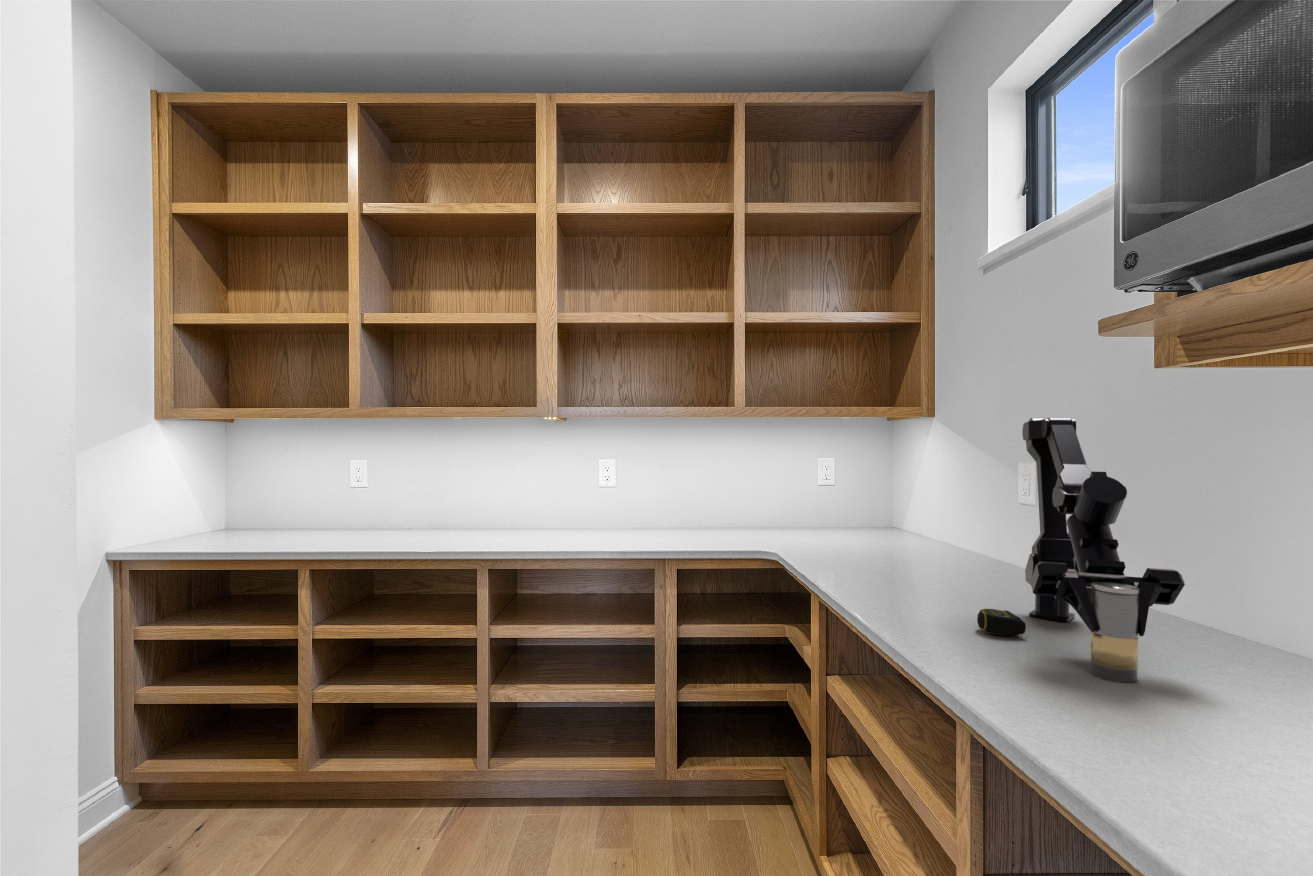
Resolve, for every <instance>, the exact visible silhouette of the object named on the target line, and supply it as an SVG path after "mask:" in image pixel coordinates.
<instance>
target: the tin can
mask: <svg viewBox="0 0 1313 876" xmlns="http://www.w3.org/2000/svg"><path fill="white" fill-rule="evenodd" d="M1091 588H1092V602H1091V606H1092V610H1093V613H1094V617H1095V624H1096V630H1095V632H1091V631H1090V652H1089V654H1090V657H1089V658H1090V673H1091V675H1093V676H1094V677H1097V678H1098V679H1099V678H1100V679H1103V680H1106V681H1109V682H1115V683H1122V684H1123V683H1126V684H1131V683H1136V682H1138V674H1139V673H1138V670H1139V669H1138V668H1139V634H1138V600H1139V590H1140V589H1139V588H1137V587H1135V586H1131V585H1126V584H1120V583H1111V582H1093V583H1091Z"/></svg>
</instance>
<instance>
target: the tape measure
mask: <svg viewBox="0 0 1313 876" xmlns="http://www.w3.org/2000/svg"><path fill="white" fill-rule="evenodd" d="M976 619H977V620H976V621H977V622H976V623H977V625H978V628H980V629H981V630H982V631H985V632H987V633H989V634H991V635H998V636H1017V635H1019V636H1020V635H1023V634H1025V633H1026V631H1027V630H1026V629H1027V626H1026V622H1025V621H1024V620H1023V619H1022V618H1020V617H1019V616H1017V615H1016V614H1015V613H1012V612H1011V611H1010V610H1002V609H995V608H982V609H980V610H979V612H978V613H977V618H976Z"/></svg>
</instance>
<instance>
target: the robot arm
mask: <svg viewBox="0 0 1313 876" xmlns="http://www.w3.org/2000/svg"><path fill="white" fill-rule="evenodd" d="M1021 433H1022V439H1023V441H1025V446H1026V451H1027V453H1029V456H1031V458H1032V459H1033V460H1034V461H1035V462H1036V481H1037V500H1038V501H1037V502H1038V517H1039V518H1038V520H1039V535H1038V537H1037V538H1036V540H1035V541H1034V543H1033V544H1032V546H1031V553H1030V554H1029V556H1028V560H1027V563H1026V566H1025V570H1024V572H1025V573H1024V577H1025V581H1026V583H1028V584H1029V585H1030V586H1031V590H1032V594H1034V597H1035V598H1034V609H1033V610H1032V611H1030V612H1029V613H1028V616H1031V617H1035V618H1041V619H1047V620H1052V621H1057V622H1063V623H1068V622H1070V621H1071V620H1073V618H1074V617H1076V615H1075V613H1072V612H1070V606H1071V607H1072V608H1073V609H1074V611H1075V612H1076V613H1077V614H1078V616H1079V617H1080V618H1081V620H1082V622H1083V623H1084V624H1085V625H1086V627H1087V628H1088V629H1089V631H1090V633H1091V632H1095V630H1096V624H1095V617H1094V613H1093V610H1092V606H1091V602H1092V588H1091V583H1093V582H1111V583H1120V584H1126V585H1131V586H1135V587H1137V588H1139V589H1140V590H1139V600H1138V637H1144V635H1145V633H1146V628H1147V621H1148V616H1149V610H1150V607H1153V605H1160V606H1161V605H1165V606H1169V605H1173V604H1174V603H1175V601H1176V600H1177V597H1178V596H1179V595H1180V593H1181V591H1182V590H1183V589H1184V586H1185V585H1186V584H1185V580H1184V578H1183V576H1182V574H1181V573H1180V572H1179V571H1178V570H1175V569H1168V568H1153V567H1152V568H1151V567H1147V568H1146V570H1145V572H1144V573H1143V575H1142V577H1141V576H1140V577H1139V576H1138V577H1137V576H1128V575H1126V574H1125V572H1124V571H1125V569H1126V568H1127V567H1126V564H1125V561H1121V560H1120V559H1121V558H1120V555H1119V553H1118V550H1117V549H1118V547H1119V545H1120V544H1119V541H1118V539H1115V538H1114V537H1113V533H1112V530H1111V528H1110V526H1111V525H1112V524H1115V523H1116V522H1117V519H1118V516H1119V514H1120V512H1121V510H1122V507H1123V506H1124V505H1123V504H1124V503H1125V500H1126V498H1127V494H1128V490H1127V487H1126V485H1124V484H1123V483H1121V482H1120V481H1118V480H1117V479H1115V478H1112V477H1110V476H1108V475H1107V471H1092V470H1091V469H1090V468H1089V467H1088V464H1087V462H1086V458H1085V456H1084V454H1083V450H1082V447H1081V445H1080V441H1079V438H1078V434H1077V421H1076V420H1075V418H1071V417H1030V418H1029V420H1028V421H1026V422H1025V423H1023V425H1022V432H1021ZM1067 515H1069V517H1068V518H1067Z"/></svg>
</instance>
